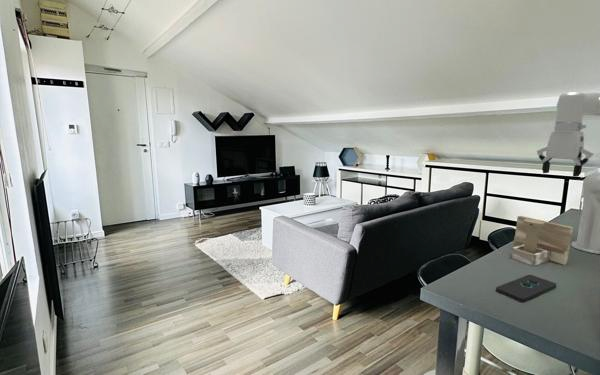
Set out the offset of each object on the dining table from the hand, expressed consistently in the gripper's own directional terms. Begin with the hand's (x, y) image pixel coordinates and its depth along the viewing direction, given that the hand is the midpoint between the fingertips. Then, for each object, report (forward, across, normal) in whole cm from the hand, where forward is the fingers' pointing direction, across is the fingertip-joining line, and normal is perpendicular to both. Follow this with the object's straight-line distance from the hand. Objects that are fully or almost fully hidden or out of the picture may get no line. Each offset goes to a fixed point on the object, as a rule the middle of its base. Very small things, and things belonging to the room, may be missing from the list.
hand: (560, 174), depth 123 cm
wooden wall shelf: (+32, +2, +8) cm, 33 cm away
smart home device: (+33, -11, +36) cm, 50 cm away
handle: (+32, +2, +10) cm, 34 cm away
